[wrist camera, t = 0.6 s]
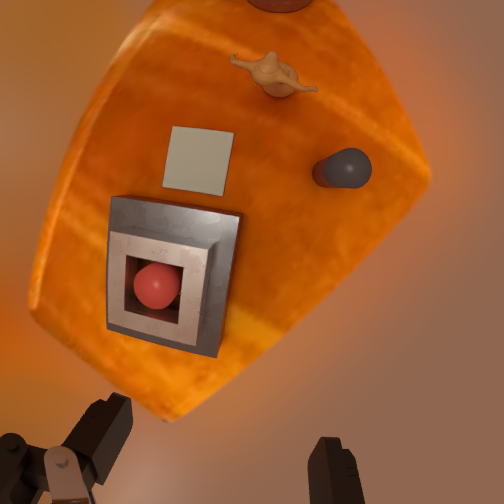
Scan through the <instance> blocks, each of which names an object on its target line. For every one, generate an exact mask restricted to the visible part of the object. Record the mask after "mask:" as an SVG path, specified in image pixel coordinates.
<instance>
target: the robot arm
mask: <svg viewBox="0 0 504 504" xmlns="http://www.w3.org/2000/svg"><path fill="white" fill-rule="evenodd" d="M247 1H248V2H250V3H251V4H252V5H254V6H256V7H258V8H260V9H263V10H266V11H271V12H291V11H296V10H299V9H301V8H304V7H305V6H307V5H308V4H309V3H310V2H311V1H312V0H247ZM132 425H133V415H132V406H131V399H130V398H129V397H126V396H123V395H121V394H118V393H115V392H113V393H112V394H111V395H110V397H109V398H108V400H107V401H104V400H101V399H99V400H98V401H96V402H94V403H92V404H91V405H90V406H89V408H88V409H87V410H86V412H85V414H83V416H82V417H81V419H80V421H78V423H77V424H76V426H75V427H74V429H73V430H72V431H71V433H70V434H69V436H68V437H67V438H66V440H65V441H64V443H63V444H62V445H61V446H55V447H52V448H50V449H43V448H39V447H35V446H31V445H28V444H26V442H25V440H24V439H23V438H22V437H21V436H20V435H18V434H15V433H7V434H4V435H3V436H1V437H0V504H37V503H38V501H39V499H40V497H41V495H42V493H43V491H48V492H50V494H51V498H52V504H96V501H95V498H94V495H93V492H92V487H93V485H94V484H95V482H96V483H98V484H100V485H103V484H104V482H105V480H106V478H107V476H108V474H109V472H110V471H111V469H112V467H113V465H114V463H115V461H116V459H117V457H118V455H119V453H120V451H121V449H122V447H123V445H124V443H125V441H126V439H127V437H128V436H129V434H130V432H131V429H132ZM308 480H309V495H310V504H365V501H364V496H363V492H362V487H361V483H360V478H359V473H358V469H357V464H356V460H355V457H354V456H353V454H352V453H351V452H350V451H349V449H342V445H341V441H340V438H338V437H321V438H320V439H319V441H318V443H317V445H316V446H315V448H314V450H313V452H312V453H311V455H310V457H309V460H308Z"/></svg>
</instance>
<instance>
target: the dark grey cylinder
mask: <svg viewBox="0 0 504 504" xmlns="http://www.w3.org/2000/svg"><path fill="white" fill-rule="evenodd" d="M371 173H372V166H371V162H370V160H369V158H368V157H367V155H366V154H365V153H364V152H362V151H361V150H359V149H356V148H346V149H344V150H341V151H339V152H337V153H335V154H333V155H331V156H329V157H327V158H325V159H323V160H321V161H319V162H318V163H316V164H315V166H314V167H313V170H312V176H313V179H314V181H315V182H316V183H317V184H318V185H319V186H321V187H331V188H359V187H362V186H363V185H365V184H366V183H367V182H368V180H369V179H370V176H371Z"/></svg>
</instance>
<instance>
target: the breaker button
mask: <svg viewBox="0 0 504 504" xmlns="http://www.w3.org/2000/svg"><path fill="white" fill-rule="evenodd" d="M183 271H184V267H181V266H176V265H171V264H166V263H162V262H157V261H153V262H152V263H151V264H149V265H148V266H146V267H145V268H143V269H142V270H140V271H139V272H138V273H137V275H136V277H135V279H134V291H135V294H136V296H137V298H138V299H139V300H140V302H142V303H143V304H144V305H145V306H147V307H149V308H152V309H163V308H165V307H167V306H168V305H169V304H170V303H171V302H172V301H173V300H174V298H175V297H176V296H177V295H178V294H179V292H180V291H181V289H182V279H183Z"/></svg>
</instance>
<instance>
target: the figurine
mask: <svg viewBox="0 0 504 504" xmlns="http://www.w3.org/2000/svg"><path fill="white" fill-rule="evenodd" d="M235 55H237V54H233V55H231V56H230V63H231V64H233V65H235V66H238V67H241V68H245V69H247V70H249V71H250V72H251V75H252V77H253V80H254V81H255V82H256V83H257V84H259V85H261V86H262V88H263V90H264V91H265V92H266V93H268V94H269V95H271V96H274V97H285V96H288V95H290V94H291V93H292V92H294V90H295V89H296V90H299V91H302V92H312V91H314V92H318V89H317V86H315V84H314V87H311V86H302V85H300V84H299V83H298V76H297V73H296V71H295V70H294V69H293V68H292V67H291V66H290V65H288V64H286V63H282V62H278V55H277V53H276V52H275V51H270V52H268V53H267V54H266V55H265V56H264V57H263V58H262V59H261V60H257V61H254V62H247V61H242V60H236V58H235Z"/></svg>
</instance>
